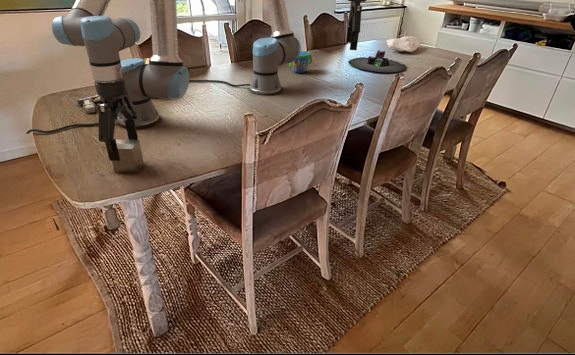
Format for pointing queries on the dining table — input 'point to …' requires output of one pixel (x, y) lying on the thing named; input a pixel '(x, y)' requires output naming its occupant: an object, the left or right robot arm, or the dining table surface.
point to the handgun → (89, 102)
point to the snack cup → (301, 62)
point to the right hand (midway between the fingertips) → (351, 46)
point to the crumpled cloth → (404, 44)
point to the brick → (128, 156)
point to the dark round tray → (377, 63)
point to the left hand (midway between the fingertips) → (124, 149)
